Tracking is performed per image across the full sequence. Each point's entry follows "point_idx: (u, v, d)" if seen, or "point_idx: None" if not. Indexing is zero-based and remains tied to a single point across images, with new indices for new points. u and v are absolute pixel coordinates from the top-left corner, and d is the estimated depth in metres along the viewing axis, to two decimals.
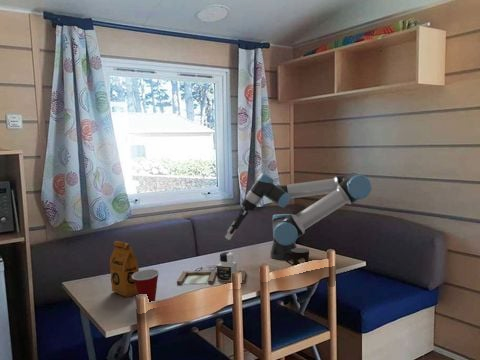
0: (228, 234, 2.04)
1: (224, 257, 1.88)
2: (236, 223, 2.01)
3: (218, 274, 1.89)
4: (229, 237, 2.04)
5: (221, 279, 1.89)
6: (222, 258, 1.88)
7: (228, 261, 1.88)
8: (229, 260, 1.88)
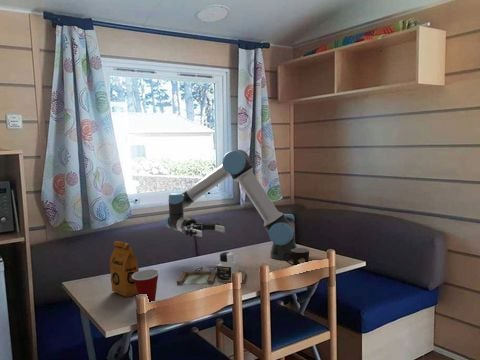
0: (198, 234, 1.94)
1: (224, 257, 1.88)
2: (185, 232, 1.97)
3: (218, 274, 1.89)
4: (199, 232, 1.93)
5: (221, 279, 1.89)
6: (222, 258, 1.88)
7: (228, 261, 1.88)
8: (229, 260, 1.88)
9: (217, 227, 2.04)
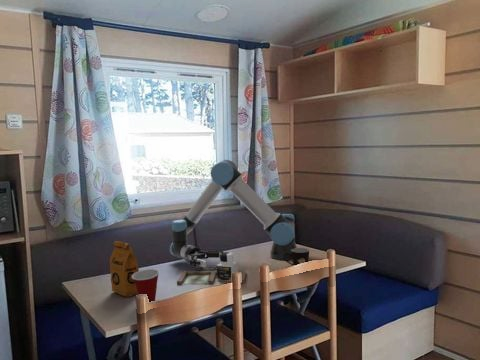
0: (202, 264, 1.92)
1: (224, 257, 1.88)
2: (189, 262, 1.96)
3: (218, 274, 1.89)
4: (203, 262, 1.91)
5: (221, 279, 1.89)
6: (222, 258, 1.88)
7: (228, 261, 1.88)
8: (229, 260, 1.88)
9: None
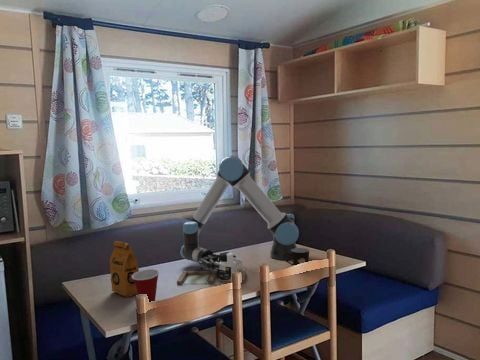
0: (220, 268, 1.85)
1: (224, 257, 1.88)
2: (206, 266, 1.89)
3: (218, 274, 1.89)
4: (222, 265, 1.85)
5: (221, 279, 1.89)
6: (222, 258, 1.88)
7: (228, 261, 1.88)
8: (229, 260, 1.88)
9: (234, 260, 1.94)
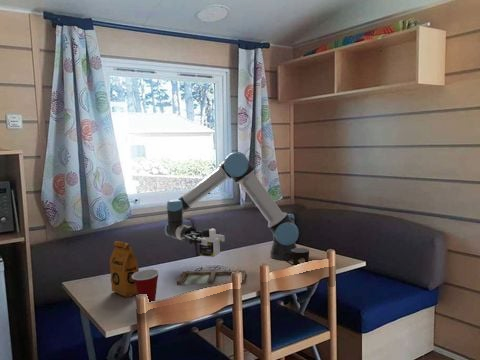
0: (202, 243, 1.85)
1: (206, 232, 1.87)
2: (188, 241, 1.88)
3: (200, 250, 1.88)
4: (204, 241, 1.84)
5: (203, 255, 1.88)
6: (204, 233, 1.87)
7: (210, 236, 1.87)
8: (212, 235, 1.87)
9: (217, 236, 1.93)
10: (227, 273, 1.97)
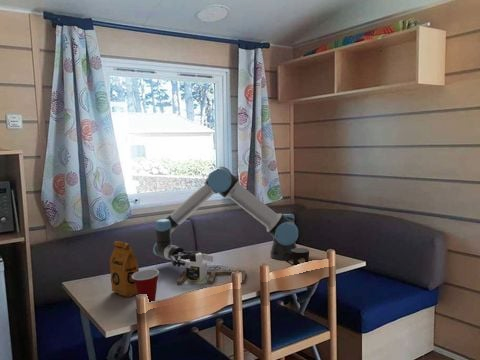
0: (186, 265, 1.86)
1: (193, 257, 1.88)
2: (173, 263, 1.90)
3: (187, 274, 1.90)
4: (187, 263, 1.85)
5: (190, 279, 1.89)
6: (191, 258, 1.89)
7: (197, 261, 1.89)
8: (198, 260, 1.89)
9: (205, 256, 1.96)
10: (227, 273, 1.97)
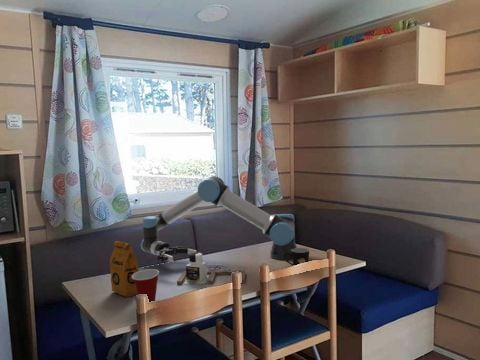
0: (169, 260, 1.95)
1: (193, 257, 1.88)
2: None
3: (187, 274, 1.90)
4: (170, 257, 1.95)
5: (190, 279, 1.89)
6: (191, 258, 1.89)
7: (197, 261, 1.88)
8: (198, 260, 1.89)
9: (189, 251, 2.06)
10: (227, 273, 1.97)
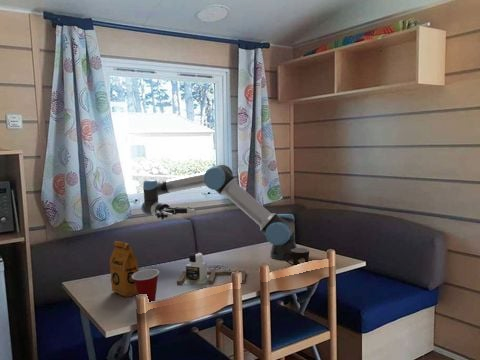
0: (168, 217, 2.02)
1: (193, 257, 1.88)
2: (157, 216, 2.05)
3: (187, 274, 1.90)
4: (169, 214, 2.01)
5: (190, 279, 1.89)
6: (191, 258, 1.89)
7: (197, 261, 1.88)
8: (198, 260, 1.89)
9: (189, 210, 2.12)
10: (227, 273, 1.97)
